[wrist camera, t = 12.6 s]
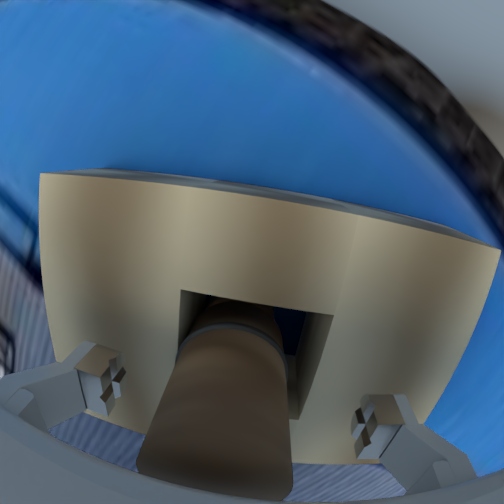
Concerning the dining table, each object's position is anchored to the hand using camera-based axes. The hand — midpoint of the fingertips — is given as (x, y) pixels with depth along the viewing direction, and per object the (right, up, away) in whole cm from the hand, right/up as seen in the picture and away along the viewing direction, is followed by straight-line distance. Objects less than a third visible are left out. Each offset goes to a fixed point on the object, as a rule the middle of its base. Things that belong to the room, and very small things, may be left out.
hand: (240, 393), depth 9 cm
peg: (0, +2, +6) cm, 7 cm away
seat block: (+1, +2, +6) cm, 7 cm away
